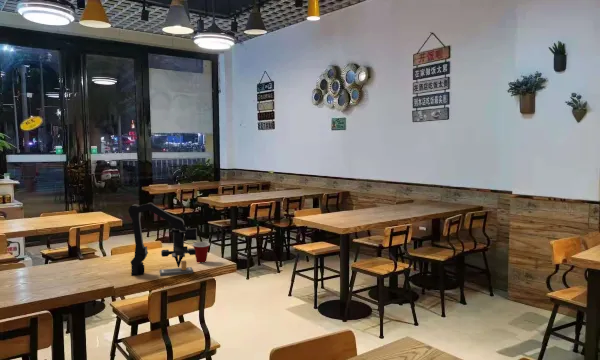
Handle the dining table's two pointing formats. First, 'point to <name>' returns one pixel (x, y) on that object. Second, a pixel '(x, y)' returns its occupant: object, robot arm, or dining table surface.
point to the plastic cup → (201, 251)
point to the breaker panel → (175, 271)
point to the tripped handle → (183, 265)
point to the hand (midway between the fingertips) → (178, 267)
